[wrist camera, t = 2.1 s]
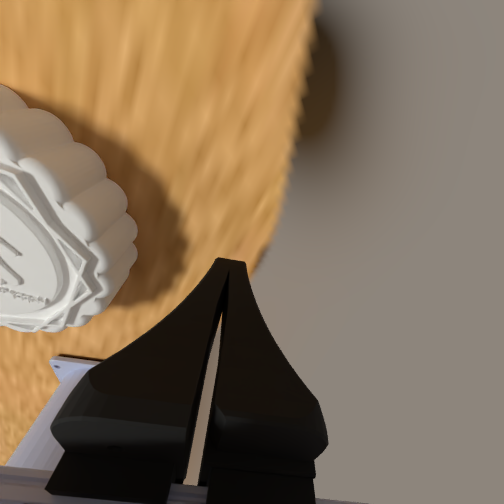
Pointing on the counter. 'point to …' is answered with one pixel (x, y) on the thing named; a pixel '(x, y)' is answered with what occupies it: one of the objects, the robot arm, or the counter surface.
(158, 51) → the counter surface
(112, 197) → the mooncake
